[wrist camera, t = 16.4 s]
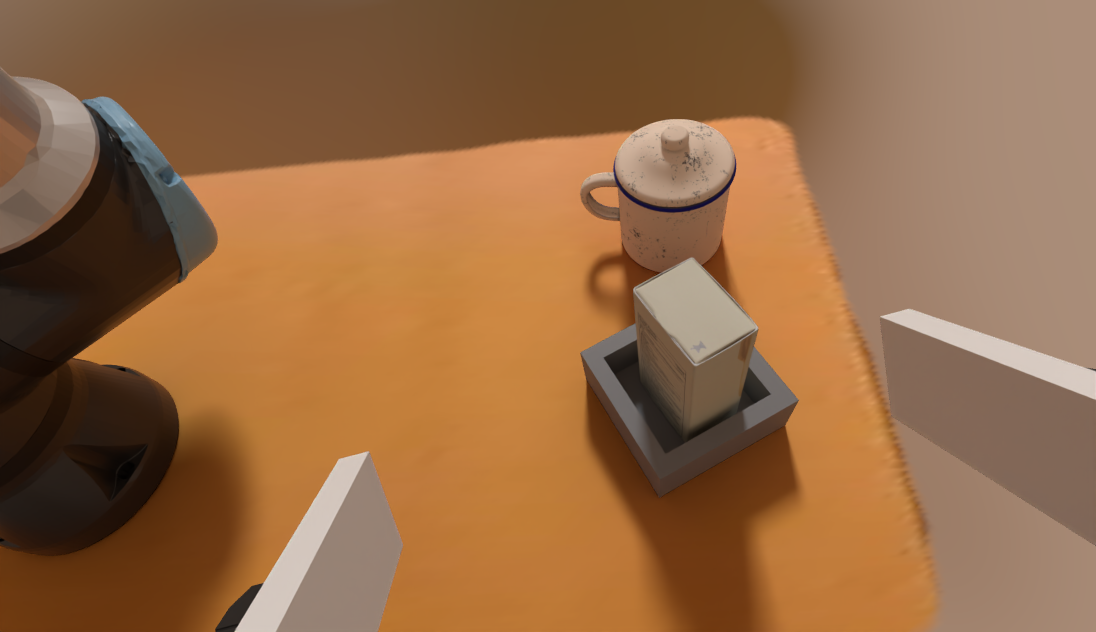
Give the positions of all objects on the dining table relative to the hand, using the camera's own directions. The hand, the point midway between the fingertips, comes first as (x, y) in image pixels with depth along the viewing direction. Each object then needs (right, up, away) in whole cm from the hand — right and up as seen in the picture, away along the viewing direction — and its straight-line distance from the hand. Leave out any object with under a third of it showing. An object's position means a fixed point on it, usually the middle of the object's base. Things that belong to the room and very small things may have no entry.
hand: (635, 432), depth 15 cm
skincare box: (+8, -3, +28) cm, 29 cm away
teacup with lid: (+7, +10, +37) cm, 39 cm away
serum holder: (+8, -3, +29) cm, 30 cm away
